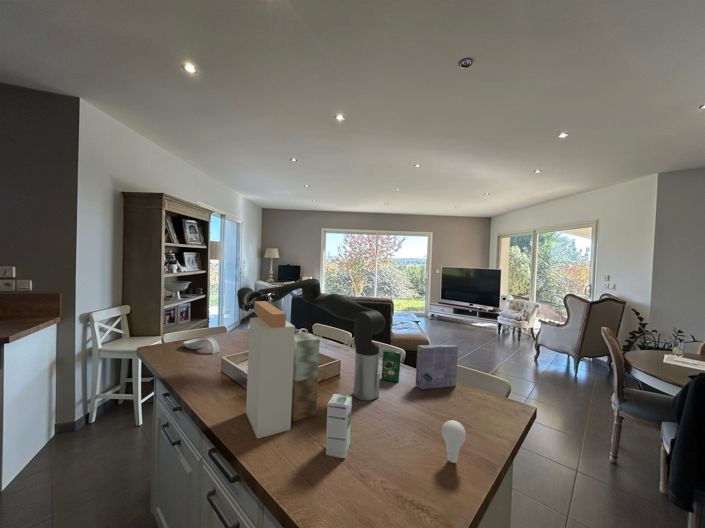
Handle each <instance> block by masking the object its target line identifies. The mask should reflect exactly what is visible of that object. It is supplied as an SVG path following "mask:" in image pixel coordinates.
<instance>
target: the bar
mask: <svg viewBox="0 0 705 528" xmlns="http://www.w3.org/2000/svg"><path fill="white" fill-rule="evenodd" d="M253 313H254V314H256V315H257V316H258V318H261V319H262V320H263V321H265V322H266V323H267V324H268V325H269V326H270V327H271V328H279V327H285V324H286V321H287V320H286V319H287V314H286V312H285V311H282V310H280V309H279V308H277V307H276V306H274V305H272V304H271V303H268V302H266V301H254V309H253Z"/></svg>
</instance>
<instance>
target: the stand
mask: <svg viewBox="0 0 705 528" xmlns="http://www.w3.org/2000/svg"><path fill="white" fill-rule="evenodd" d="M248 332H249V333H248V334H249V335H248V354H247V355H248V358H247V377H246V379H247V382H246V403H245V404H246V405H245V406H246V407H245V414H246V416H247V419H248V420H249V422H250V426H251V428H252V430H253V432H254V434H255V438H256V439H261V438H264V437H269V436H272V435H276V434H280V433H284V432H287V431H290V430H291V427H292V426H291V425H292V423H291V422H292V418H291V406H292V384H293V361H294V339H295V335H296V334H295V333H296V326H295V325H294V324H292V323H291V322H289V321H287V320H286V324H285V327H279V328H271V327H270V326H269V325H268V324H267V323H266V322H265V321H263V320H262V319H261V318H260V317H249V331H248Z"/></svg>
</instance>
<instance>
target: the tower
mask: <svg viewBox="0 0 705 528" xmlns="http://www.w3.org/2000/svg"><path fill="white" fill-rule="evenodd" d="M320 343H321V341H320V338H318V337H317V336H316V335H314V334H312V333H297V334H295V339H294V361H293V384H292V406H291V421H293V422H295V421H301V420H305V419H308V418H311V417H314V416H317V405H318V402H317V401H318V387H319V385H318V383H319V382H318V381H319V362H320V361H319V359H320Z"/></svg>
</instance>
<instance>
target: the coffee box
mask: <svg viewBox="0 0 705 528" xmlns="http://www.w3.org/2000/svg"><path fill="white" fill-rule="evenodd" d="M401 352H402V351H395V350H389V349H383V352H382V363H381V377H380V378H381V381H385V380H388V381H387V382H394V381H395V382H396V383H399V382H400V370H401V359H402V358H401V357H402V353H401ZM395 382H394V383H395Z"/></svg>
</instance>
